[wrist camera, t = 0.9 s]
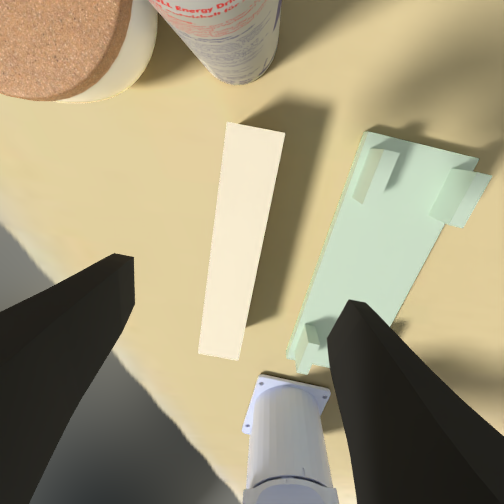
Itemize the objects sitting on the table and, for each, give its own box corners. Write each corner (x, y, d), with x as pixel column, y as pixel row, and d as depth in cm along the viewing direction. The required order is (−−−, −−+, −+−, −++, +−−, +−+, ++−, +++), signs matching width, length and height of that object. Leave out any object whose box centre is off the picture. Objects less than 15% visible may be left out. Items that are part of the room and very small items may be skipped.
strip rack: (360, 367, 27) (373, 397, 24) (286, 351, 27) (288, 379, 24) (469, 157, 19) (509, 161, 16) (363, 132, 19) (383, 129, 16)
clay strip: (243, 326, 27) (238, 360, 23) (209, 320, 27) (197, 353, 23) (282, 134, 20) (285, 133, 16) (235, 125, 20) (226, 121, 16)
